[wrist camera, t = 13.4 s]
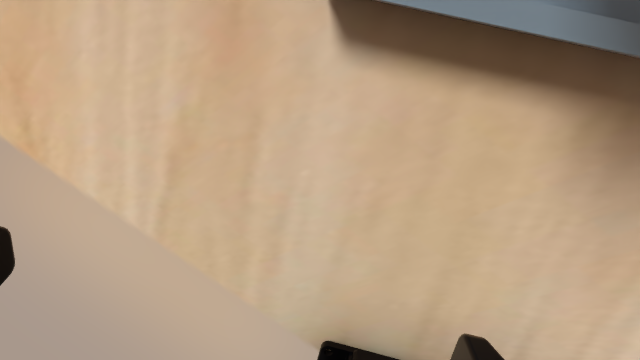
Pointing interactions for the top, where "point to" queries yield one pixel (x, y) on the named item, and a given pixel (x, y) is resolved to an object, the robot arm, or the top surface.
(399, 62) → the top surface
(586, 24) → the tray
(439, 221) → the top surface
